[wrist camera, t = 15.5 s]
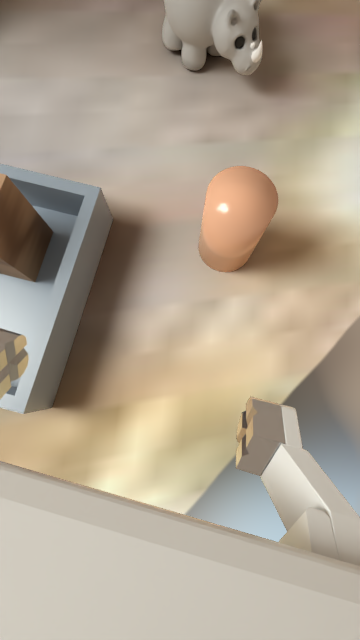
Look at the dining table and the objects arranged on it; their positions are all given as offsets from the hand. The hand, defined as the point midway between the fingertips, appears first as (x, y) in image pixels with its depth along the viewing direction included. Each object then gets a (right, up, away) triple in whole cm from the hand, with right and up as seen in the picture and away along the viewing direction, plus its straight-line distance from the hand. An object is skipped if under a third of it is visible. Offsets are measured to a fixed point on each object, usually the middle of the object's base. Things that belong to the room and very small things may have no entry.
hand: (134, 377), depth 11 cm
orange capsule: (+6, +9, +18) cm, 21 cm away
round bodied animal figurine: (+5, +29, +23) cm, 37 cm away
